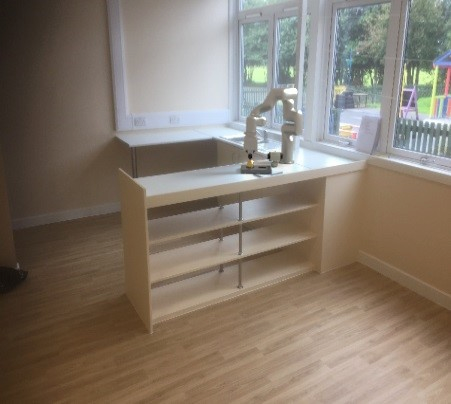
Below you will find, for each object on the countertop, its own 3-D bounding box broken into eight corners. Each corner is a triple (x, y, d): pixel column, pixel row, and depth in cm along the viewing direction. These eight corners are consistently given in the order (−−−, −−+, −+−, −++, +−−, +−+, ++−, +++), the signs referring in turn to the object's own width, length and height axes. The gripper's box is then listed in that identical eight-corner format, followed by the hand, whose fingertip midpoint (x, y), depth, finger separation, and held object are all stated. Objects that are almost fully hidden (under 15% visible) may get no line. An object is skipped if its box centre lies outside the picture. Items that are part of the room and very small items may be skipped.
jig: (240, 168, 319) (241, 164, 318) (270, 169, 318) (270, 165, 317) (240, 173, 303) (241, 169, 303) (271, 174, 303) (271, 170, 302)
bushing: (246, 170, 313) (247, 159, 311) (252, 170, 313) (253, 160, 311) (246, 171, 309) (247, 161, 306) (252, 172, 309) (253, 161, 306)
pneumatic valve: (266, 165, 330) (267, 150, 326) (281, 165, 330) (282, 150, 327) (267, 167, 325) (268, 151, 321) (282, 167, 325) (283, 151, 322)
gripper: (240, 134, 299) (239, 160, 305) (261, 135, 299) (260, 160, 304) (240, 133, 306) (239, 158, 312) (261, 133, 306) (260, 158, 312)
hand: (250, 159), depth 308 cm, fingers closed
